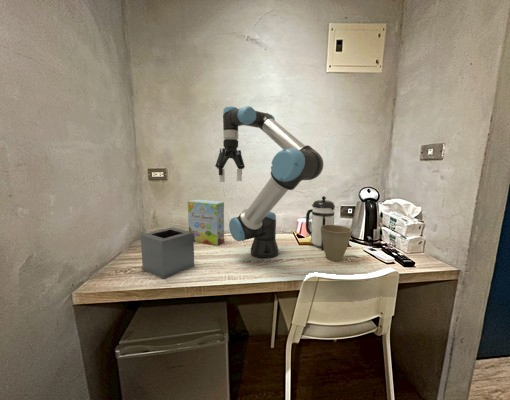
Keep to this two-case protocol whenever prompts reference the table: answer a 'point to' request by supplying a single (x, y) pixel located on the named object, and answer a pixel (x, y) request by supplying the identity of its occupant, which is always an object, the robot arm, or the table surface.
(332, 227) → the plant pot
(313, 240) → the coffee press
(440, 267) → the table surface
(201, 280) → the table surface
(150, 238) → the metal box
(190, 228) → the snack box
